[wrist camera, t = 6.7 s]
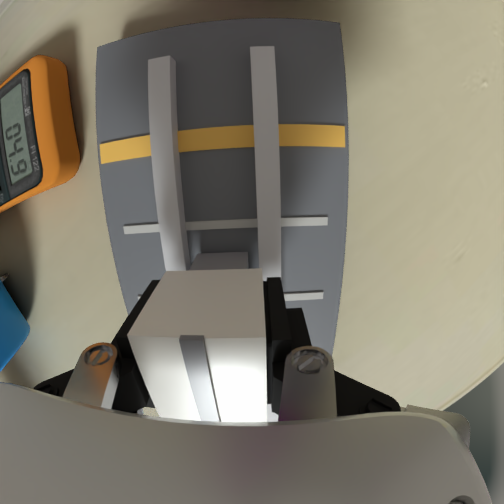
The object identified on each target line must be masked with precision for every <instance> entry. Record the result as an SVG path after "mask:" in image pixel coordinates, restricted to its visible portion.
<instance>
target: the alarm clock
mask: <svg viewBox="0 0 504 504" xmlns="http://www.w3.org/2000/svg"><path fill="white" fill-rule="evenodd" d="M8 276H9V275H8V273H7V274H5V275H4V276H2V277H0V371H1V370H2V369H3V368H4V367H5V366H6V364H7V363H8V362H9V361H10V359H11V358H12V357H13V356H14V354H15V353H16V352H17V351H18V349H19V348H20V347H21V345H22V344H23V342H24V341H25V339H26V338H27V336H28V334H29V331H30V326H29V324H28V322H27V321H26V320H25V318H24V317H23V315H22V314H21V312H20V311H19V309H18V308H17V306H16V304H15V303H14V301H13V300H12V298H11V296H10V295H9V293H8V291H7V290H6V288H5V286H4V285H3V283H2V282H3V281H4V280H5V279H6V278H7V277H8Z"/></svg>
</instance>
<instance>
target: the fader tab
mask: <svg viewBox="0 0 504 504" xmlns="http://www.w3.org/2000/svg"><path fill="white" fill-rule="evenodd" d="M127 336H128V339H129V342H130V345H131V348H132V351H133V354H134V356H135V359H136V362H137V364H138V367H139V370H140V372H141V375H142V377H143V380H144V382H145V385H146V387H147V390H148V392H149V394H150V397H151V399H152V401H153V403H154V406H155V408H156V410H157V412H158V414H159V417H164V418H173V419H183V420H196V421H213V422H267V369H266V329H265V311H264V293H263V276H262V268H255V269H249V265H248V252H225V253H198V254H197V255H196V257H195V259H194V261H193V263H192V265H191V267H190V269H189V271H166V272H165V274H164V275H163V277H162V278H161V280H160V282H159V283H158V285H157V286H156V288H155V289H154V291H153V293H152V294H151V296H150V298H149V299H148V301H147V302H146V304H145V306H144V307H143V309H142V311H141V312H140V314H139V316H138V317H137V319H136V321H135V322H134V324H133V326H132V327H131V329H130V331H129V333H128V334H127Z"/></svg>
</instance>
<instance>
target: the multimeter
mask: <svg viewBox="0 0 504 504" xmlns="http://www.w3.org/2000/svg"><path fill="white" fill-rule="evenodd" d="M79 165H80V153H79V148H78V144H77V138H76V133H75V128H74V122H73V116H72V109H71V102H70V94H69V86H68V76H67V69H66V66H65V65H64V64H63V63H62V62H61V61H60V60H58V59H55V58H52V57H48V56H45V55H37V56H35V57H33V58H31V59H30V60H29V61H27V62H26V63H25V64H24V65H23V66H21V67H20V68H19V69H18V70H17V71H15V72H14V73H13V74H12V75H11V76H10V77H9V78H8V79H6V80H5V81H4V82H3V83H2V84H1V85H0V213H1V212H3V211H5V210H7V209H9V208H10V207H12V206H14V205H16V204H18V203H20V202H22V201H24V200H26V199H28V198H30V197H32V196H34V195H37V194H39V193H41V192H44V191H46V190H48V189H51V188H53V187H56V186H58V185H61V184H63V183H66V182H67V181H69V180H70V179H71V178H73V177H74V176H75V174H76V173H77V171H78V169H79Z"/></svg>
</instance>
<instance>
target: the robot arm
mask: <svg viewBox="0 0 504 504" xmlns="http://www.w3.org/2000/svg"><path fill="white" fill-rule="evenodd" d="M159 282H160V280H152V281H151V282H150V284H149V285H148V287H147V288H146V290H145V291H144V293H143V294H142V296H141V297H140V299H139V300H138V302H137V303H136V305H135V306H134V308H133V309H132V311H131V312H130V314H129V315H128V317H127V319H126V320H125V322H124V323H123V325H122V326H121V328H120V330H119V331H118V333H117V334H116V336H115V338H114V339H113V341H112V342H111V344H110V343H104V342H103V343H96V344H93V345H91V346H89V347H87V348H86V349H85V350H84V351H83V352H82V354H81V355H80V358H79V360H78V362H77V364H76V366H75V369H72V370H70V371H68V372H65V373H63V374H60V375H58V376H56V377H53V378H51V379H48V380H46V381H43V382H41V383H39V384H38V385H37V386H35V387H34V389H31V388H28V387H24V386H21V385H16V384H12V383H4V382H0V504H492V501H491V498H490V495H489V492H488V490H487V487H486V484H485V482H484V480H483V477H482V475H481V473H480V471H479V468H478V466H477V464H476V462H475V460H474V458H473V456H472V454H471V453H470V451H469V441H470V425H469V422H468V421H467V419H466V418H465V417H463V416H462V415H460V414H457V413H452V412H445V411H439V410H433V409H428V408H422V407H417V406H412V405H407V407H406V408H404V407H400V406H399V404H398V402H397V401H396V400H395V399H394V398H392V397H390V396H389V395H387V394H384V393H382V392H380V391H378V390H375V389H373V388H371V387H369V386H366V385H364V384H362V383H360V382H358V381H356V380H354V379H351V378H349V377H347V376H345V375H343V374H341V373H339V372H337V371H335V370H334V363H333V359H332V356H331V355H330V354H329V353H328V352H327V351H325V350H324V349H322V348H319V347H314V346H312V344H311V340H310V336H309V332H308V328H307V325H306V321H305V317H304V313H303V310H302V308H286V304H285V299H284V293H283V288H282V282H281V277H267V281H263V293H264V311H265V329H266V369H267V404H271V409H272V412H274V413H276V414H277V415H279V417H278V422H213V421H196V420H183V419H173V418H164V417H155V416H148V415H143V409H142V408H144V407H151V408H155V406H154V403H153V401H152V399H151V397H150V394H149V392H148V390H147V387H146V385H145V382H144V380H143V377H142V375H141V372H140V370H139V367H138V364H137V362H136V359H135V356H134V354H133V351H132V348H131V345H130V342H129V339H128V336H127V334H128V333H129V331H130V329H131V327H132V326H133V324H134V322H135V321H136V319H137V317H138V316H139V314H140V312H141V311H142V309H143V307H144V306H145V304H146V302H147V301H148V299H149V298H150V296H151V294H152V293H153V291H154V289H155V288H156V286H157V285H158V283H159Z"/></svg>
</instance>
